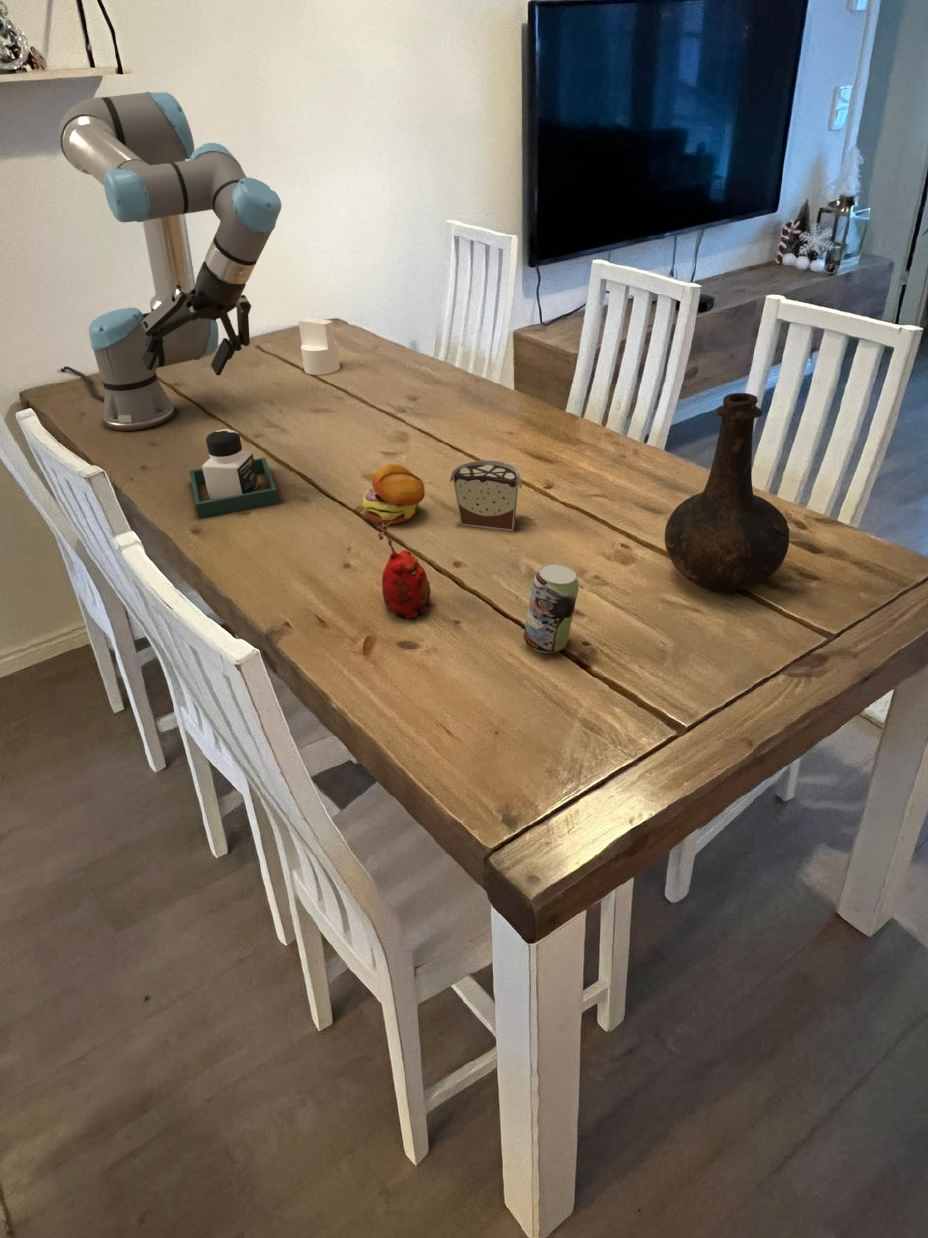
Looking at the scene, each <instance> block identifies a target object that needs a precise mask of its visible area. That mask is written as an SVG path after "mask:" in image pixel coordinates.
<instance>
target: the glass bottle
mask: <svg viewBox="0 0 928 1238" xmlns="http://www.w3.org/2000/svg"><path fill="white" fill-rule="evenodd" d="M758 402H759V399H758V396H756V395H754V394H752V393H747V392H734V393H733V392H732V393H729V394H727V395H725V396H724V397H723V398H722V403H723V404H722V405H720V406H718V407H716V409H715V415H717V416H719V417H721V420H720V426H719V431H718V436H717V442H716V445H715V446H716V447H715V450H714V451H715V452H714V455H713V460H712V463H711V468H710V472H709V475H708V479H707V481H706V484H705V486H704V489H703V491H702V492H700V493H697V494H695V495H691V496H690V497H688V498H686V499H684V501H682V502H681V503H679V504H678V505H677V506H676V507H675V509H673V511H672V513H671V514H670V516H669V517H668V520H667V522H666V525H665V529H664V545H665V549H666V553H667V555H668V557H669V559H670V561H671V563H672V565H673V566H674V568H676V570H677V571H678V572H679V573H680V574H681V575H682V576H683V577H684V578H685V579H687V580H689V581H690V582H691V583H694V584H695V585H698V586H700V587H702V588H706V589H708V590H712V591H720V592H736V591H737V592H738V591H743V590H747V589H750V588H753V587H756V586H758V585H760V584H762V583H764V582H765V581H767V580H768V579H769V578H770V577H772V576H773V575H774V574H775V573H776V572H777V571H778V569H779V568H780V567H781V566H782V564H783V562H784V561H785V558H786V556H787V553H788V551H789V547H790V527H789V525H788V521H787V519H786V517H785V516H784V513H782V512H781V511H780V510H779V509H778V508H777V507H776V506H775V505H773V503H771V502H770V501H768V500H766V499H765V498H763V497H761V496H759V495H756V494H754V489H753V479H752V477H753V475H752V471H753V470H752V465H753V464H752V460H753V437H754V428H755V419H757V418H760V417H762V415H763V410H762V409H760V408H759V407H758V406H757V403H758Z"/></svg>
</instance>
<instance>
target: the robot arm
mask: <svg viewBox="0 0 928 1238" xmlns="http://www.w3.org/2000/svg"><path fill="white" fill-rule="evenodd" d="M192 133H193V132H192V131H191V127H190V124H189V121H188V118H187V116H186V114H185V112H184V110H183V108H182V106H181V105H180V103H179V101H178V100H177V99H176V97H175V96H174V95H172V94H171V93H169V92H165V91H159V92H157V91H156V92H152V91H151V92H150V91H146V92H137V93H129V94H120V95H111V96H102V97H101V96H97V97H91V98H87V99H83V100H82V101H80V102H78V103H76V104H75V105H73V106H71V108H70V109H69V110H68V111H67V112H66V113H65V114H64V116H63V118H62V119H61V121H60V124H59V127H58V133H57V135H58V144H59V147H60V150H61V152H62V154H63V156H64V158H65V159H66V160H67V161H68V162H69V163H70V164H71V165H72V167H74V168H75V169H76V170H78V171H79V172H81V173H83V174H86V175H90V176H92V177H93V178H94V179H95V180H96V181H98V182H99V184H100V185H102V186H103V189H104V194H105V198H106V200H107V204H108V207H109V209H110V211H111V212H112V215H113V217H114V218H115V219H116V220H117V221H118V222H119V223H133V222H136V223H142V225H143V231H144V232H143V233H144V237H145V243H146V248H147V255H148V260H149V264H150V270H151V275H152V276H151V277H152V281H153V287H154V293H155V294H154V295H153V296H152V298H151V299H150V301H149V306H150V312H146V313H143V312H142V311H141V310H140V309H139V308H136V307H126V308H118V309H113V310H111V311H108V312H106V313H103V314H100V315H99V316H97V317H96V318H94V319H93V320H92V321H91V322H90V323H89V326H88V335H89V340H90V347H91V349H92V351H93V355H94V358H95V362H96V365H97V368H98V371H99V375H100V379H101V383H102V385H103V390H104V396H102V395H100V394H98V393H97V391H95V389H94V388H93V387H92V385H91V380H90V379H89V378H88V377H87V376H86V375H85V374H84V373H82V372H80V371H78V370H76V369H74V368H73V367H71V366H66V365H65V367H64V366H63V367H64V369H63V368H62V367H61V369H60V372H61V373H63V372H65V370H67V371H69V372H71V373H73V374H75V375H77V376H79V377H81V378H82V379H84V381H85V382H86V385H87V388H88V390H89V392H90V393H91V394H92V395H93V396H94V397H95V398H96V399H98V400H100V401H103V419H104V424H105V426H106V427H107V428H108V429H110V430H114V431H119V432H120V431H121V432H133V431H141V430H145V429H151V428H154V427H158V426H160V425H162V424H164V423H166V422H168V421H169V420H171V419H172V418H173V417H174V415H175V409H174V404H173V403H172V401H171V400H170V397H169V396H168V394H167V393H166V391H165V390H164V388H163V386H162V385H161V383H160V381H159V379H158V375H157V370H156V369H159V368H164V367H168V366H173V365H176V364H182V363H186V362H190V361H199V360H201V359H202V358H206V357H210V356H212V355H213V354H214V353H215V352H216V353H215V355H214V356H213V359H212V361H211V363H210V366H211V368H212V370H213V372H214V374H215V376H221V374H222V372H223V370H224V368H225V366H226V364H227V363H228V360H229V361H230V360H231V359H232V358H233V356H234V354H235V353H236V352H241V350H242V346H243V347H248V346H250V344H251V341H250V322H249V321H250V319H249V314H250V312H251V309H252V304H251V303H250V301H249V299H248V298H247V296H246V295H245V294H243V292H244V290H245V288H246V285H247V282H248V281H249V279H250V277H251V276H252V273H253V271H254V269H255V267H256V265H257V262H258V261H259V259H260V256H261V254H262V252H263V251H264V248H265V246H266V245H267V242H268V240H269V238H270V236H271V234H272V232H273V231H274V230H275V228H276V224H277V220H278V218H279V215H280V213H281V211H282V201H281V198H280V197H279V195H278V194H277V192H276V191H275V190H273V189H271V187H270V186H269V185H268V184H266V183H265V182H263V181H261V180H260V179H257V178H253V177H247V175H246V173H245V172H244V170H243V167H242V165H241V164H240V162H239V160H237V159H236V158H235V156H234V155H233V154H232V153H231V151H229V149H228V148H227V147H225V146H224V145H222V144H220V143H218V142H207V143H203V144H202V145H201V146H199V147H197V148H195V142H194V138H193V134H192ZM205 211H212V212H213V213H214V214H215V216H216V218H218V219H219V225H218V227H217V230H216V232H215V233H214V236H213V238H212V241H211V243H210V245H209V247H208V250H207V252H206V254H205V256H204V260H203V262H202V264H201V266H200V268H199V271H198V274H197V276H196V278H195V272H194V266H193V265H194V264H193V259H192V253H191V251H192V250H191V245H190V238H189V231H188V224H187V218H186V217H187V216H186V215H187V214H194V213H200V212H205ZM234 309H236V319H237V320H236V323H237V334H236V331H235V329H234V326H233V324H232V322H231V319H230V316H229V314H228V313H230V312H231V311H232V310H234ZM219 319H220V321H221V323H222V326H223V328H224V330H225V333H226V335H227V337H222V340H221V342H220V345H219V337H220V335H219V325H218V321H217V320H219ZM218 346H219V347H218ZM217 348H218V349H217Z"/></svg>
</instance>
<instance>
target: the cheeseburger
mask: <svg viewBox="0 0 928 1238" xmlns="http://www.w3.org/2000/svg"><path fill="white" fill-rule="evenodd" d="M371 481H372V482H371V485H372V487H371V488H369V489H368V490H367V491H366V493H364V495H363V497H362V507H363V508H364V513H365V515H366V517H367V518H369V519H370V520H371V521H374V522H376V523H377V524H381V522H380V521H378V519H380V520H381V521H382V522H383V524H384V525H388V524H389V523H390V522H392V523H391V524H390V525H395V524H396V525H397V524H400V523H403V522H407V521H408V520H410V519H411V518H413V517H414V516H415V515H416V513H417V510H418V506H419V504H420V502H422V501H423V500H424V498H425V496H426V492H425V484H424V482H423V480H422V478H420V477H419V476H417V475H415V474H414V473H413V472H411V471H410V470H409V469H407V468H406V466H404V465H401V464H398V463H397V464H395V463H389V464H386V465H385V466H383V467H381V468H380V469H378V470H377V472H375V473H374V475H373V477H372V479H371Z"/></svg>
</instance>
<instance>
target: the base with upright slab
mask: <svg viewBox="0 0 928 1238" xmlns="http://www.w3.org/2000/svg"><path fill="white" fill-rule="evenodd" d="M298 327H299V334H300V340H301V346H300V351H301V357H302V358H301V359H302V364H303V370H304V372H305V374H308V375H313V376H322V375H329V374H333V373H336V372H338V371H339V370H340V369H341V363H340V357H339V356H340V355H339V349H338V343H337V341H336V337H335V328H334V321H333V320H328V319H320V318H313V317H303V318H300V319H298Z"/></svg>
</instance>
